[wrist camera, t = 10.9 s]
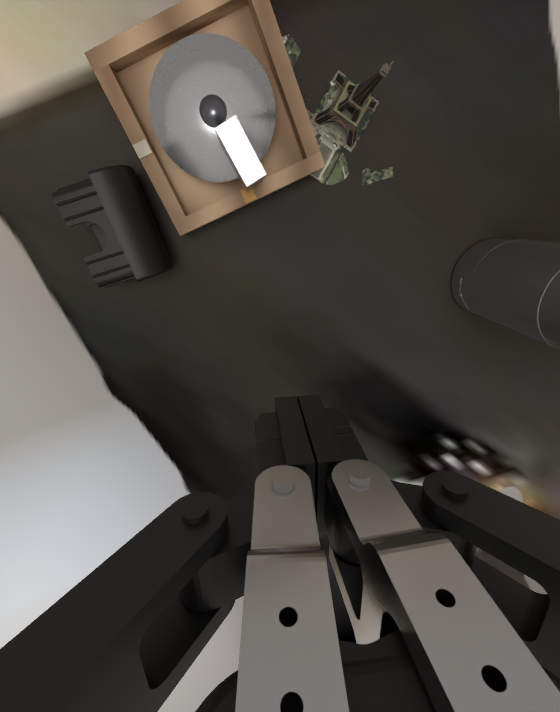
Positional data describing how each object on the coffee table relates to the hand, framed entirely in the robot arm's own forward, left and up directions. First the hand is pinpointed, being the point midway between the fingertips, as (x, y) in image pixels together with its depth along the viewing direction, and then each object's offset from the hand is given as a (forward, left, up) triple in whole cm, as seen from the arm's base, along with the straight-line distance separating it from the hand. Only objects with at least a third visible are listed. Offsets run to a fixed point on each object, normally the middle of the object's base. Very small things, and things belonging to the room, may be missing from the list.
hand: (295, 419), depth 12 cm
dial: (-3, -15, -29) cm, 33 cm away
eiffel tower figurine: (-15, -12, -33) cm, 38 cm away
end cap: (+11, -10, -32) cm, 36 cm away
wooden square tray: (-2, -16, -32) cm, 36 cm away
